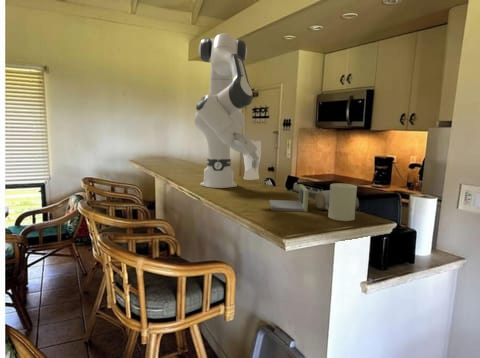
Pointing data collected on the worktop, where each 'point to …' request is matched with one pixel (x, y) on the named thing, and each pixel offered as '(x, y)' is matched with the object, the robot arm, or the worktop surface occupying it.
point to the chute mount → (292, 202)
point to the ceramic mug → (323, 200)
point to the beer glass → (252, 163)
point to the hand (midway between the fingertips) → (253, 158)
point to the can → (342, 202)
